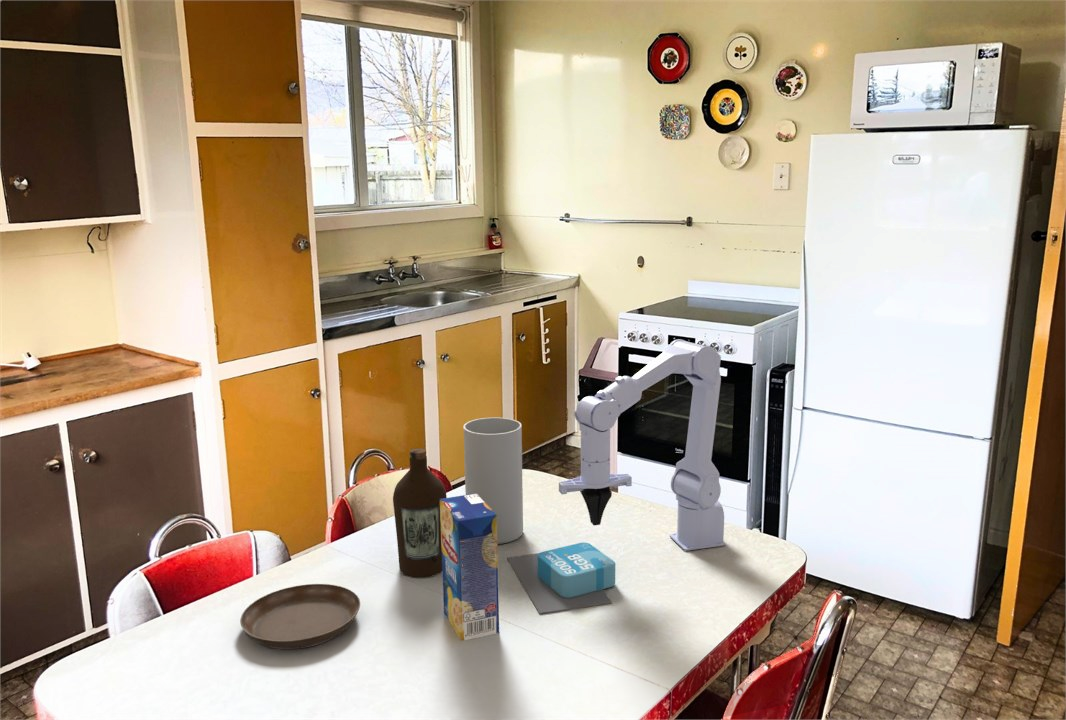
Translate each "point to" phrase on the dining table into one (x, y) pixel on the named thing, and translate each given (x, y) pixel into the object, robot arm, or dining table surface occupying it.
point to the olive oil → (419, 518)
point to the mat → (544, 594)
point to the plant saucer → (300, 615)
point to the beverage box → (469, 566)
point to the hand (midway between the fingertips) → (595, 523)
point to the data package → (576, 569)
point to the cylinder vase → (496, 471)
